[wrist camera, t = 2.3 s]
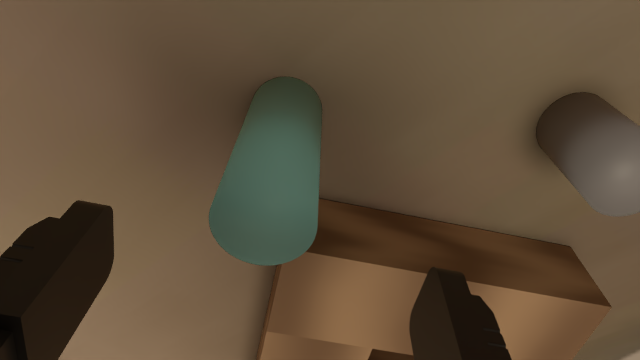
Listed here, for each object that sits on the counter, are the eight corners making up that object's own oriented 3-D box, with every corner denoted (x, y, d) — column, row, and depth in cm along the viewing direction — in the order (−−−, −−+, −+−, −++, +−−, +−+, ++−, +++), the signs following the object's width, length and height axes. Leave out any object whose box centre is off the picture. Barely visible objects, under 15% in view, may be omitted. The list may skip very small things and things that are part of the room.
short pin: (524, 149, 20) (569, 207, 17) (556, 85, 19) (614, 133, 15) (587, 163, 21) (646, 223, 17) (624, 100, 19) (698, 151, 15)
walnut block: (251, 378, 29) (241, 442, 26) (292, 193, 22) (285, 248, 18) (465, 411, 30) (483, 476, 27) (570, 246, 23) (611, 307, 20)
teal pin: (246, 135, 20) (204, 255, 14) (256, 69, 19) (214, 167, 12) (314, 149, 21) (305, 273, 14) (329, 85, 19) (327, 189, 12)
